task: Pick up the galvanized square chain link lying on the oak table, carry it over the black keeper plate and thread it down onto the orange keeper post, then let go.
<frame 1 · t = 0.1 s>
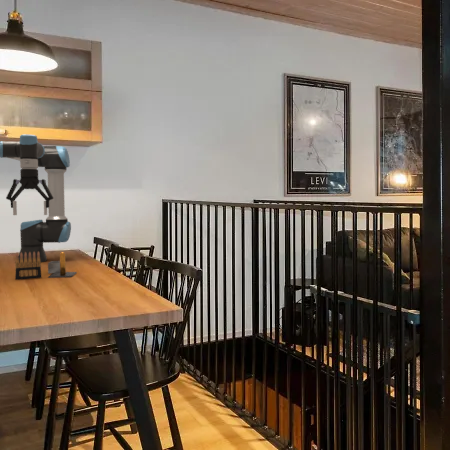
hand: (30, 215, 218), 28 cm above the table, fingers open, 13 cm apart
link: (56, 272, 228), on the table
keeper: (62, 275, 218), on the table
ammunition clip: (28, 279, 210), on the table
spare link: (32, 275, 219), on the table
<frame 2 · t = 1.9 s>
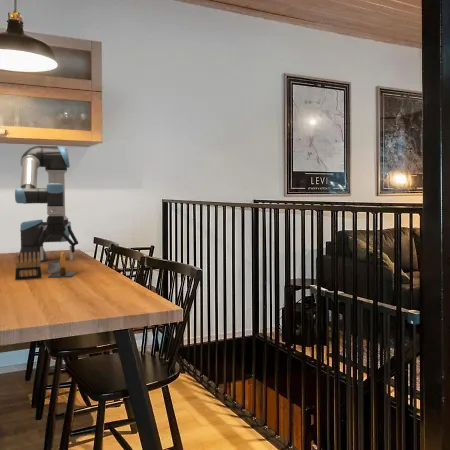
hand: (56, 259, 227), 6 cm above the table, fingers open, 13 cm apart
nothing on the table moved.
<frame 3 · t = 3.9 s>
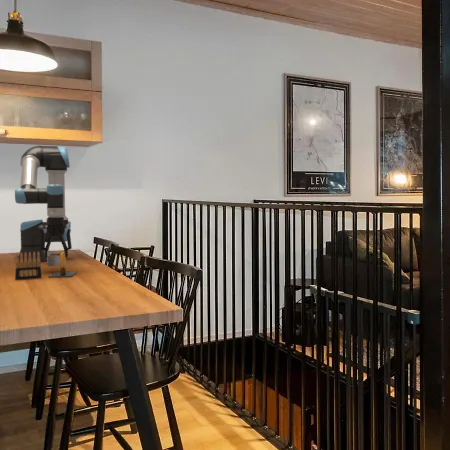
hand: (56, 264, 228), 4 cm above the table, fingers closed on link, 6 cm apart
link: (56, 264, 228), point 3 cm above the table, touching gripper
everything else where it was.
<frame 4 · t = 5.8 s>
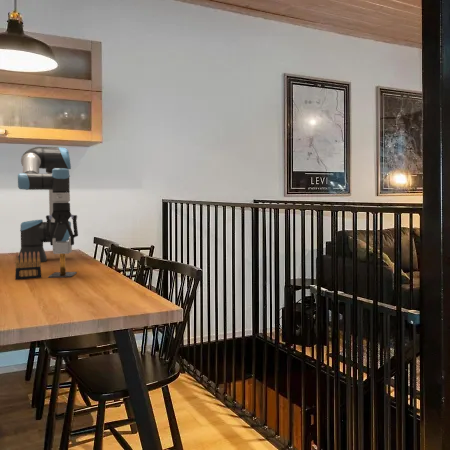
hand: (62, 252, 218), 11 cm above the table, fingers closed on link, 6 cm apart
link: (62, 252, 218), point 10 cm above the table, touching gripper
everything else where it was.
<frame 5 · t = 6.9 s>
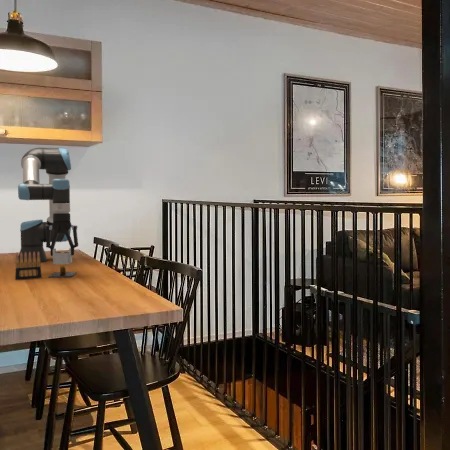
hand: (62, 262, 218), 6 cm above the table, fingers closed on link, 6 cm apart
link: (62, 263, 218), point 6 cm above the table, touching gripper
everything else where it was.
when the fingers open (4 cm above the table, at t = 7.7 s): link drops 3 cm, resting on keeper.
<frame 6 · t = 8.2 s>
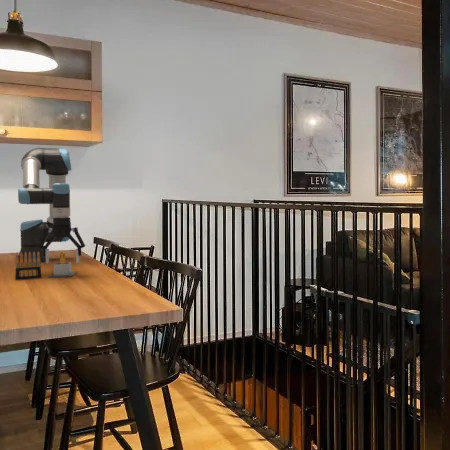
hand: (62, 263, 218), 6 cm above the table, fingers open, 13 cm apart
link: (62, 274, 218), point 1 cm above the table, touching keeper
everything else where it was.
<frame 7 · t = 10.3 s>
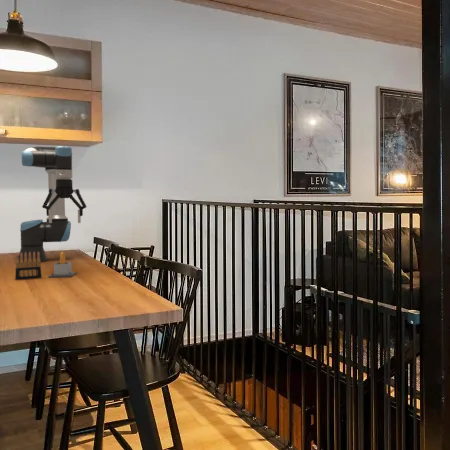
hand: (64, 223, 229), 24 cm above the table, fingers open, 13 cm apart
nothing on the table moved.
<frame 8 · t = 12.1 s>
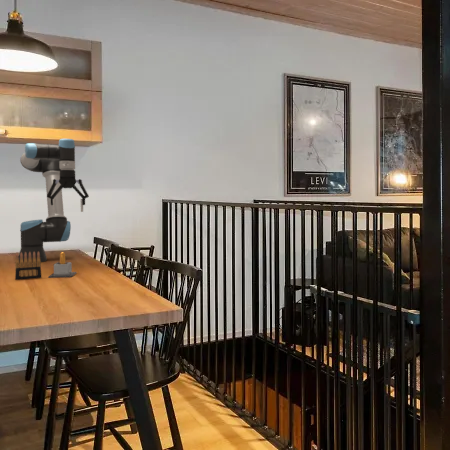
hand: (68, 211, 240), 29 cm above the table, fingers open, 13 cm apart
nothing on the table moved.
at the end: link 0.0 cm off-centre on the keeper, point 0.6 cm above the keeper's base; the gripper is holding nothing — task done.
